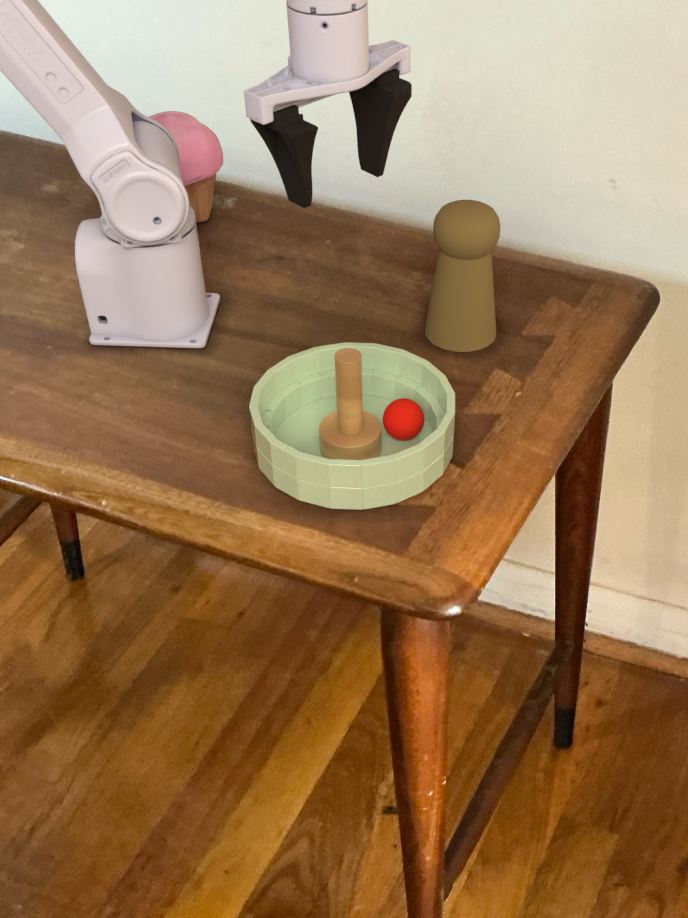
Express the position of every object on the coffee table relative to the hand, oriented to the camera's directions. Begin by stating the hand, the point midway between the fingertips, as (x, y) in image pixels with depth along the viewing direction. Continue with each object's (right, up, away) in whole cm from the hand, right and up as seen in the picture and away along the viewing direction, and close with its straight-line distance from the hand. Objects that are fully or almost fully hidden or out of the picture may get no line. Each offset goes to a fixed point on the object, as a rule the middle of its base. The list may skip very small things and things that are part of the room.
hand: (336, 187), depth 82 cm
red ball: (+5, -19, -8) cm, 22 cm away
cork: (+10, -11, +4) cm, 15 cm away
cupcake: (-16, +3, +18) cm, 24 cm away
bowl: (+2, -22, -7) cm, 23 cm away
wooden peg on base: (+2, -22, -8) cm, 23 cm away
